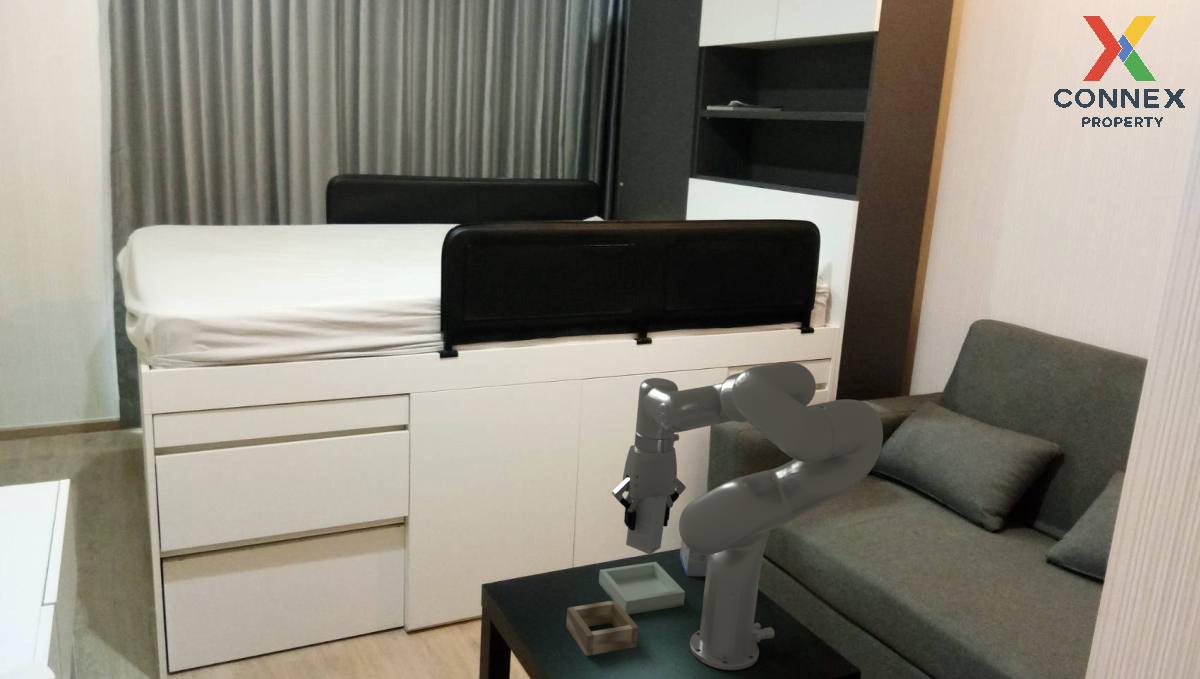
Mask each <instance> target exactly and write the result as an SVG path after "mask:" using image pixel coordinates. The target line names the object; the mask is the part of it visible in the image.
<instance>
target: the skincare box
mask: <svg viewBox="0 0 1200 679" xmlns="http://www.w3.org/2000/svg"><path fill="white" fill-rule="evenodd" d="M666 501H667V496H656V497H649V498H646V499H640V500H639V501H638V503H637V505H636V507H635V509H634V511H635V512H636V523H635V530H633V531H631V530H630V529H629V528H628V527H627V532H626V534H627V535H626V542H625V545H626V546H629V547H631V548H633V549H636V550H638V551H640V552H643V553H646V554H647V555H650V556H651V555H653V554H654V553H655V552H657V551H658V550H660V549H661V547H662V539H663V535H664V517H665V510H666Z"/></svg>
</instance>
